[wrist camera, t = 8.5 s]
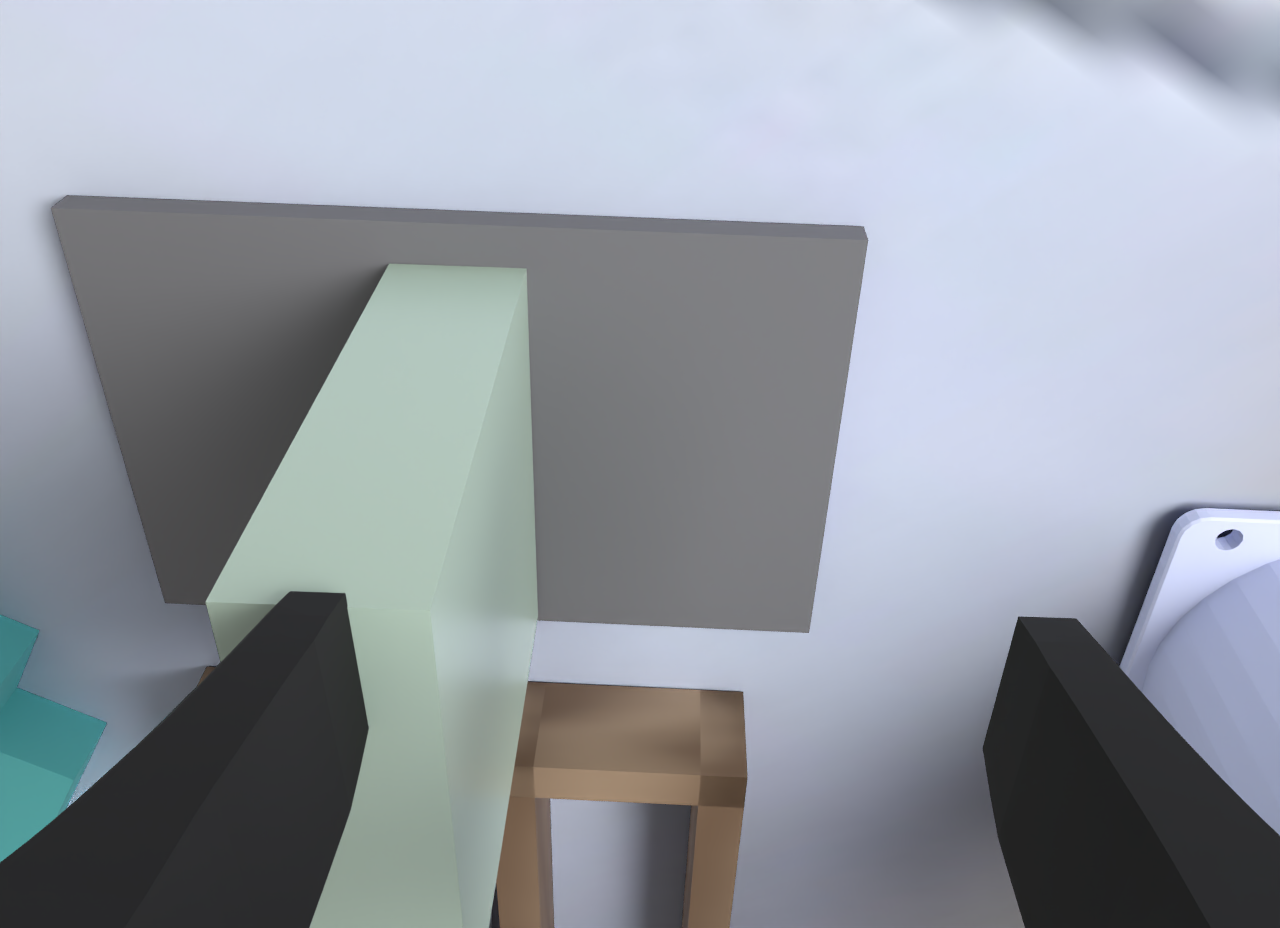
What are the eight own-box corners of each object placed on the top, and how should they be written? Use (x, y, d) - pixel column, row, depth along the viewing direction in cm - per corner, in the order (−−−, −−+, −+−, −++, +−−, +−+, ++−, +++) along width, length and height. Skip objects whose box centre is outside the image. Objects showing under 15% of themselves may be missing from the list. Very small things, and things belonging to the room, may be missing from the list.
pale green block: (526, 268, 19) (430, 610, 12) (538, 615, 24) (473, 1025, 16) (388, 263, 19) (205, 601, 12) (426, 611, 24) (310, 1018, 16)
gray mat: (863, 226, 19) (868, 240, 19) (806, 614, 24) (808, 632, 24) (67, 195, 19) (50, 208, 19) (175, 585, 25) (164, 603, 24)
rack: (743, 691, 26) (747, 777, 24) (705, 1035, 34) (706, 1120, 32) (207, 666, 26) (164, 749, 24) (301, 1013, 34) (276, 1096, 32)
